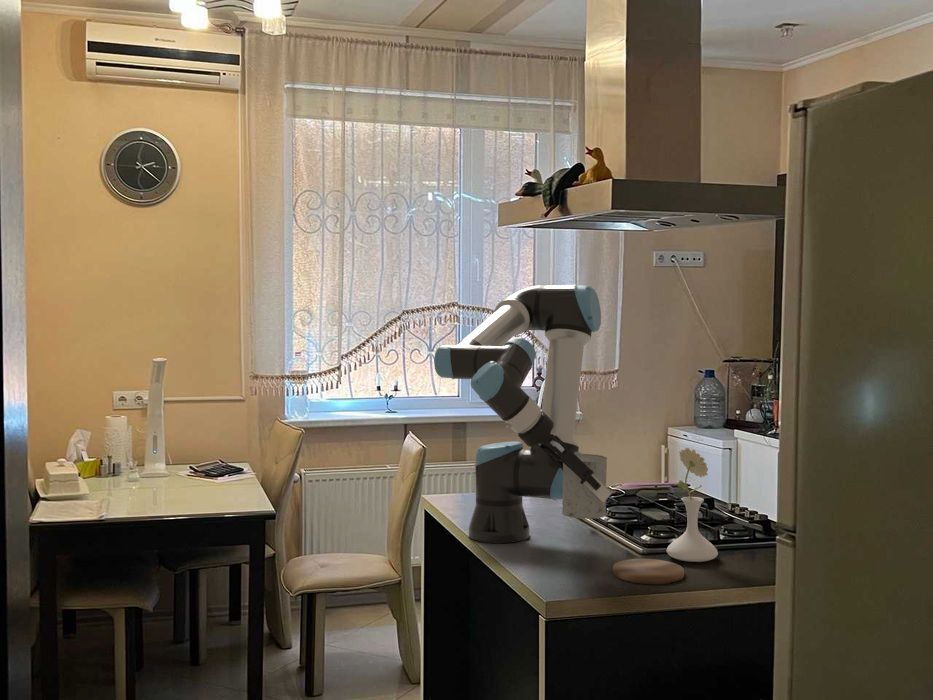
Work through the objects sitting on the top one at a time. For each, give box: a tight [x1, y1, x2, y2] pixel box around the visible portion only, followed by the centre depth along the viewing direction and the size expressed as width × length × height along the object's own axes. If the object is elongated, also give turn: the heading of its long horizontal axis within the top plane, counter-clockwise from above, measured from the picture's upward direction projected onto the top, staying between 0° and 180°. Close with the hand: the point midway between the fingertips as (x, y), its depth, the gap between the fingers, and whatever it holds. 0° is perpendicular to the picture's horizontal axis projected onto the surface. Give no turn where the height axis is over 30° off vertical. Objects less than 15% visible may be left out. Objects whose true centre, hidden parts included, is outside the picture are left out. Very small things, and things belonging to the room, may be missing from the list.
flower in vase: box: [665, 447, 719, 563], centre depth 221 cm, size 13×11×25 cm
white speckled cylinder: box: [561, 453, 608, 520], centre depth 211 cm, size 10×10×12 cm
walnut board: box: [612, 558, 685, 585], centre depth 209 cm, size 15×15×1 cm
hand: (597, 492), depth 212 cm, fingers closed on white speckled cylinder, 9 cm apart
